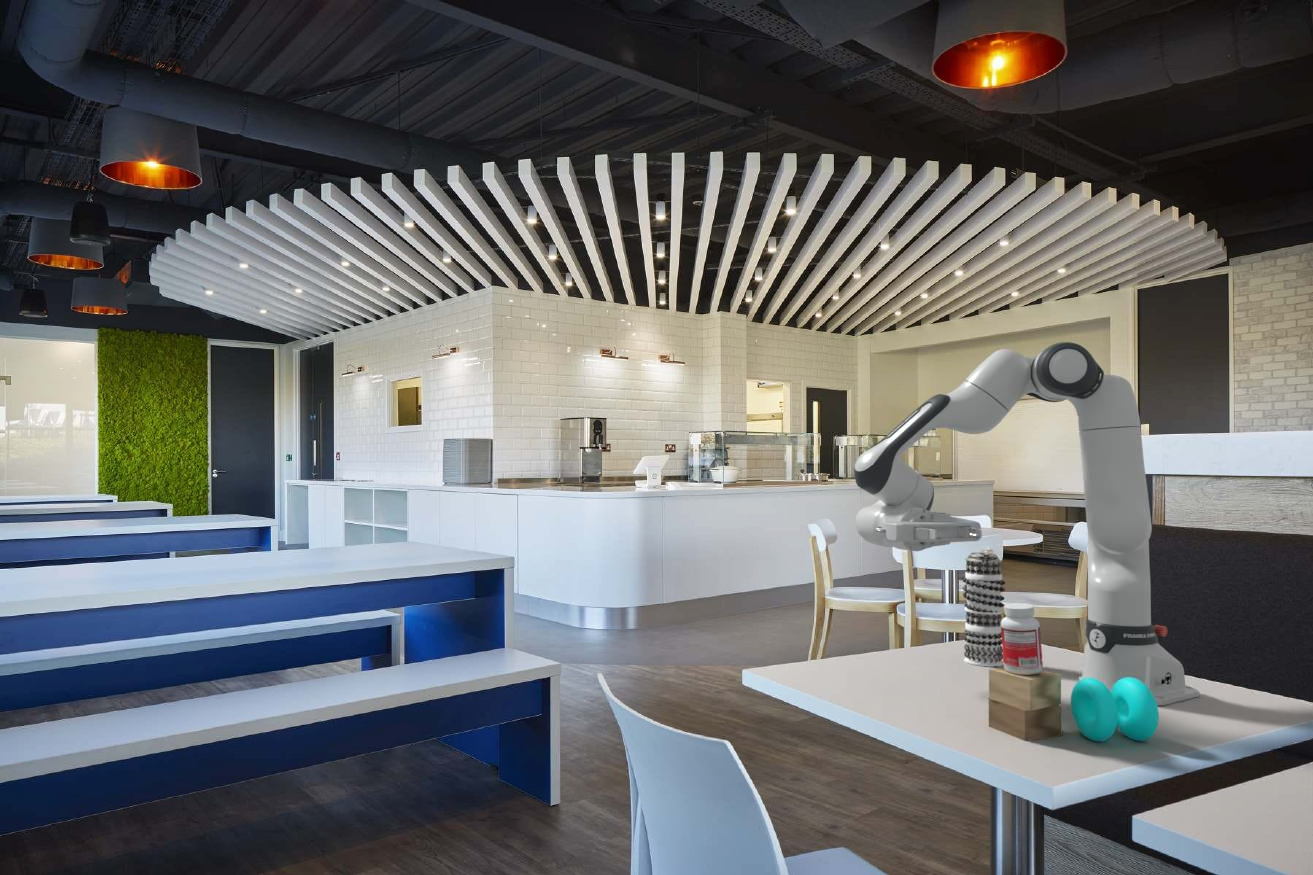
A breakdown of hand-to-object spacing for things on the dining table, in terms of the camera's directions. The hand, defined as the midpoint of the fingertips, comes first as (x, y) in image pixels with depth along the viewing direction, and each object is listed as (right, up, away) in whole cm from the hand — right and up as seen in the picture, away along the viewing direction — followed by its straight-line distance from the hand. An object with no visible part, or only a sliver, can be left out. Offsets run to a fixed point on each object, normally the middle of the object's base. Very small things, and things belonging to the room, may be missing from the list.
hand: (958, 534), depth 157 cm
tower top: (+5, -27, -16) cm, 31 cm away
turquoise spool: (+18, -32, -20) cm, 42 cm away
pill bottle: (+5, -22, -16) cm, 27 cm away
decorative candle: (+18, -34, +34) cm, 52 cm away
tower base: (+5, -32, -16) cm, 36 cm away
